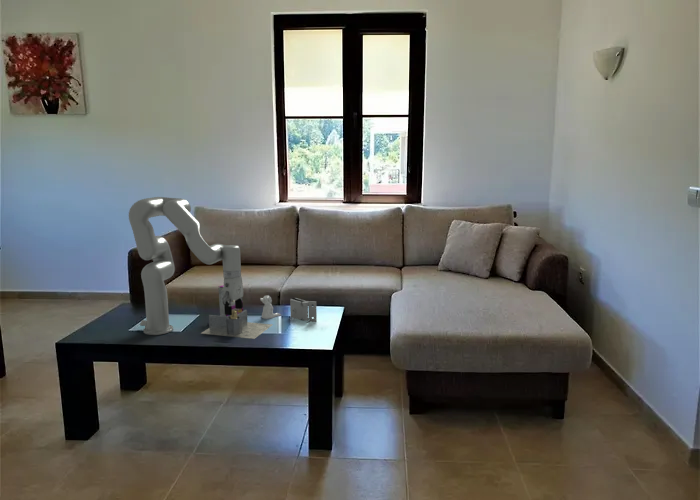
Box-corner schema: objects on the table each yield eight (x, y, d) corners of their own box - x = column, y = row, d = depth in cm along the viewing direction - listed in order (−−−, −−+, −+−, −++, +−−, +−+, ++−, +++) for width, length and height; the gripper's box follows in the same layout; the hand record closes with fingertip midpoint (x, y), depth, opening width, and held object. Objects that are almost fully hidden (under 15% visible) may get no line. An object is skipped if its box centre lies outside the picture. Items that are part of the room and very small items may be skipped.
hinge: (317, 321, 259) (317, 301, 257) (310, 324, 255) (310, 304, 253) (293, 317, 266) (293, 297, 264) (287, 320, 262) (286, 300, 260)
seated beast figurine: (281, 317, 266) (280, 293, 264) (274, 322, 258) (274, 298, 256) (263, 315, 269) (262, 292, 267) (256, 320, 261) (255, 296, 258)
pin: (229, 333, 239) (228, 311, 237) (233, 331, 242) (232, 309, 240) (236, 333, 238) (235, 312, 236) (239, 331, 241) (238, 310, 239)
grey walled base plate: (200, 335, 239) (199, 318, 238) (222, 322, 258) (221, 305, 257) (254, 341, 232) (253, 323, 231) (273, 327, 251) (272, 309, 250)
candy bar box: (236, 313, 272) (235, 281, 269) (243, 315, 269) (242, 283, 266) (219, 318, 264) (217, 285, 261) (226, 320, 261) (224, 287, 258)
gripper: (230, 278, 226) (232, 318, 229) (248, 270, 242) (250, 306, 245) (214, 277, 228) (216, 316, 231) (233, 269, 244) (235, 305, 247)
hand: (233, 311), depth 238 cm, fingers open, 9 cm apart
